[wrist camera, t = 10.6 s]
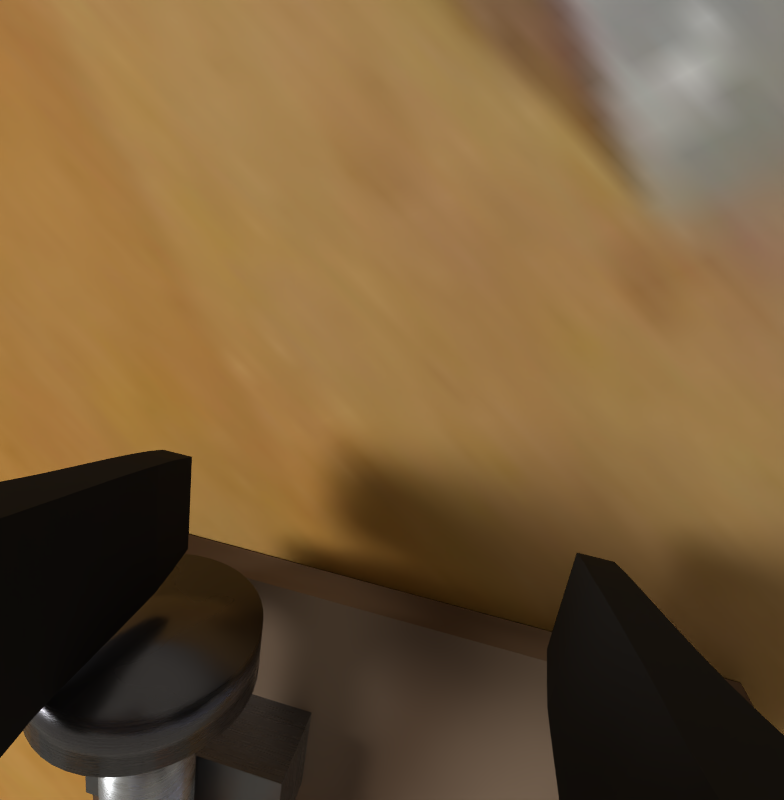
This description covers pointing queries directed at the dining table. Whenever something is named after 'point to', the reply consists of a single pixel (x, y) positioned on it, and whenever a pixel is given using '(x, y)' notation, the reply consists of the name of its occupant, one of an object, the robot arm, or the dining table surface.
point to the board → (400, 687)
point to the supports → (252, 755)
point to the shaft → (159, 687)
